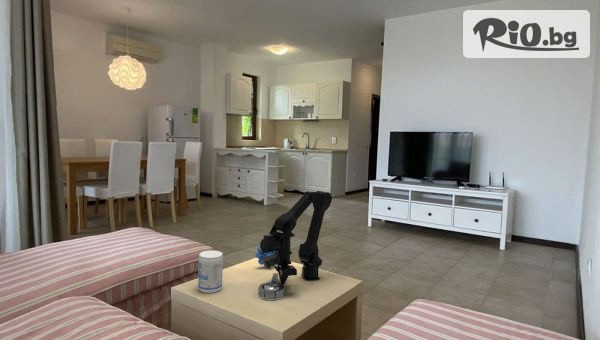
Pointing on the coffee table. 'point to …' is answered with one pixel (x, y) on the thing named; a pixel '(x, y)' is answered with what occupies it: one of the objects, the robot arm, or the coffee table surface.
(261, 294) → the grey octagonal frying pan
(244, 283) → the coffee table surface
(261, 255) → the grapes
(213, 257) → the supplement tub
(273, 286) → the grey metal bowl
